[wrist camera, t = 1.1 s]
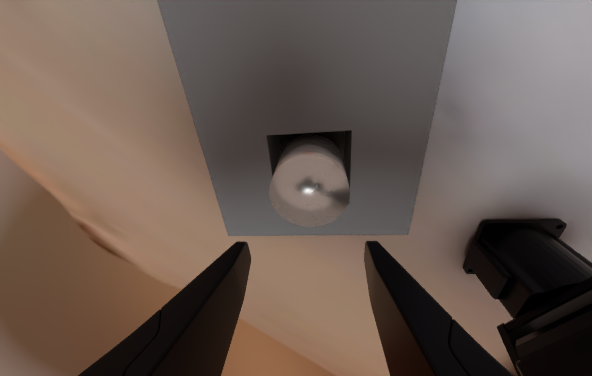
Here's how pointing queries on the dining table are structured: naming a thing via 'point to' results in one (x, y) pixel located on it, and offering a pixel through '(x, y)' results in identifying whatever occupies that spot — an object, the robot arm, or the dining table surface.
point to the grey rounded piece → (310, 182)
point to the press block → (312, 98)
